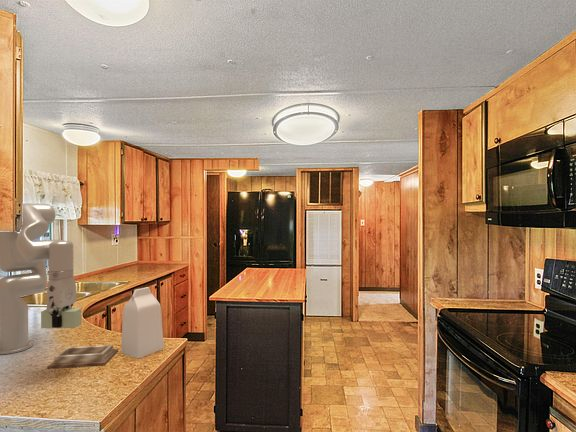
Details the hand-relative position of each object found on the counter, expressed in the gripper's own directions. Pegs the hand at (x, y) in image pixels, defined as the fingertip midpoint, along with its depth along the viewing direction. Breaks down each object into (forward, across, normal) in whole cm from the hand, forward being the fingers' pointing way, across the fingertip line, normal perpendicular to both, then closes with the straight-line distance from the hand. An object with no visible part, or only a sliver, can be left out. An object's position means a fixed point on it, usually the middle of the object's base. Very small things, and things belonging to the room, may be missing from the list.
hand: (61, 324), depth 121 cm
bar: (+1, 0, 0) cm, 1 cm away
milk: (+17, +18, -22) cm, 33 cm away
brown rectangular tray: (+17, +10, -2) cm, 20 cm away
